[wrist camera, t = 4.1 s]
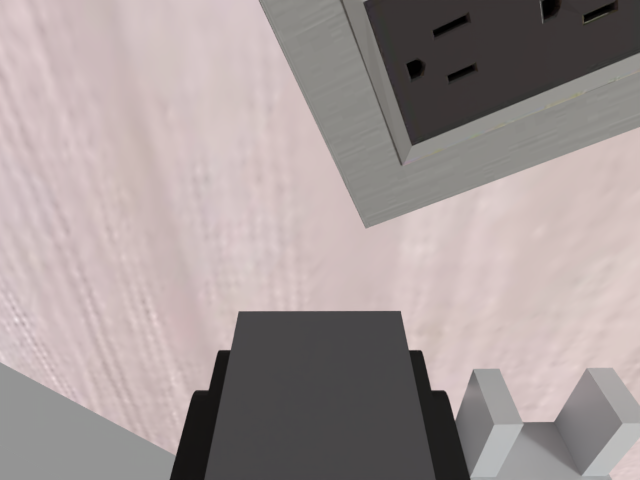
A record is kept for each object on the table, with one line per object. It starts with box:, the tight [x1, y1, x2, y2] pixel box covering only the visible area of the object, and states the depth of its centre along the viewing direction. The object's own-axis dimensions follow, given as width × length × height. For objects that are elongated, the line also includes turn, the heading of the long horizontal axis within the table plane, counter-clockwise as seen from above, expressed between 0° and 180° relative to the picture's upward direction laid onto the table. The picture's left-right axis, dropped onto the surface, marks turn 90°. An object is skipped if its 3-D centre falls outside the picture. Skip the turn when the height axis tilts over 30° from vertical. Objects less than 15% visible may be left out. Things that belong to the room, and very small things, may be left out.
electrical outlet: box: [259, 0, 640, 228], centre depth 13 cm, size 13×10×2 cm
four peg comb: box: [455, 368, 640, 480], centre depth 25 cm, size 9×23×6 cm, turn 90°
